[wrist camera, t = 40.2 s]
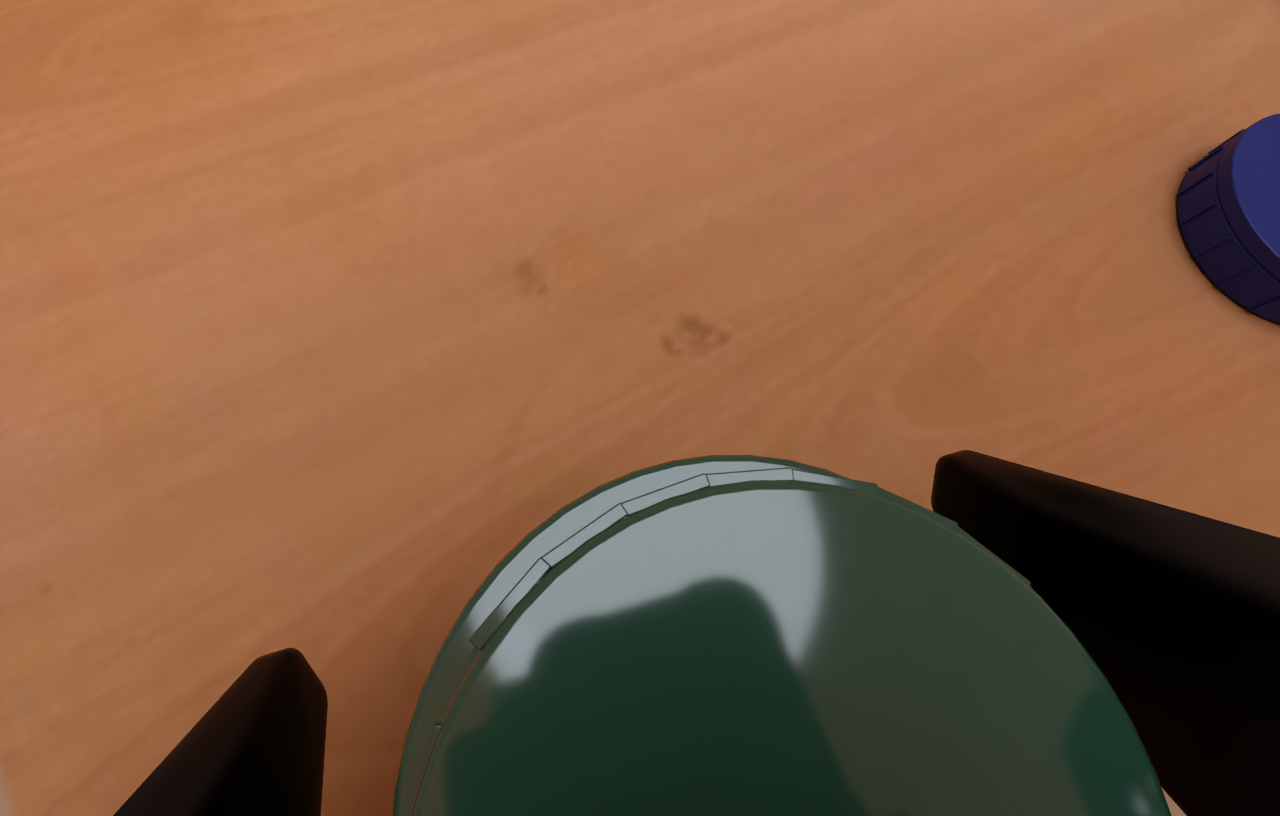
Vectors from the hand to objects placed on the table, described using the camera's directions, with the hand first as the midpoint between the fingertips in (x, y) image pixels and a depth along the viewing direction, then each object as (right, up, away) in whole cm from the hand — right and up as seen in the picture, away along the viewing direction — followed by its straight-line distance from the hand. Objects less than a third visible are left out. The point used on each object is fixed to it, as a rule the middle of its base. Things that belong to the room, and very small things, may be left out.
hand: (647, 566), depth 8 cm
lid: (+22, +8, +10) cm, 25 cm away
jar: (0, -4, +6) cm, 8 cm away
